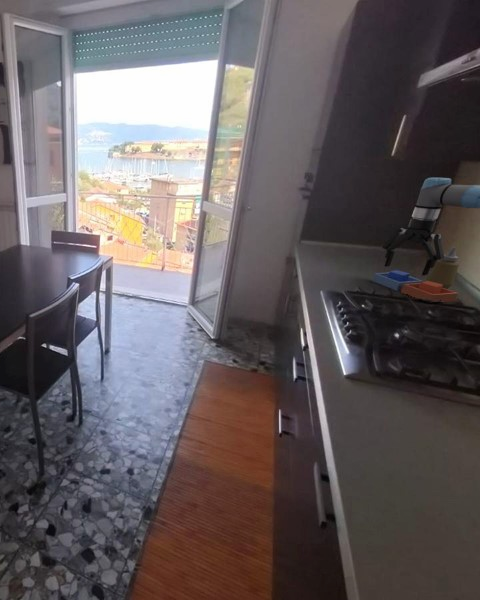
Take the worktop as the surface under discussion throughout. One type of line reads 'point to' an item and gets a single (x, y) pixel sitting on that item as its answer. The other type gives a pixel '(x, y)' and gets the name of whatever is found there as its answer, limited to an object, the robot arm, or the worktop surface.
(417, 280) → the blue bin
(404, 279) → the blue cube
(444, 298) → the terracotta bin
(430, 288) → the terracotta cube
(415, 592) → the worktop surface
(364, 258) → the worktop surface
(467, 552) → the worktop surface
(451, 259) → the squeeze bottle
